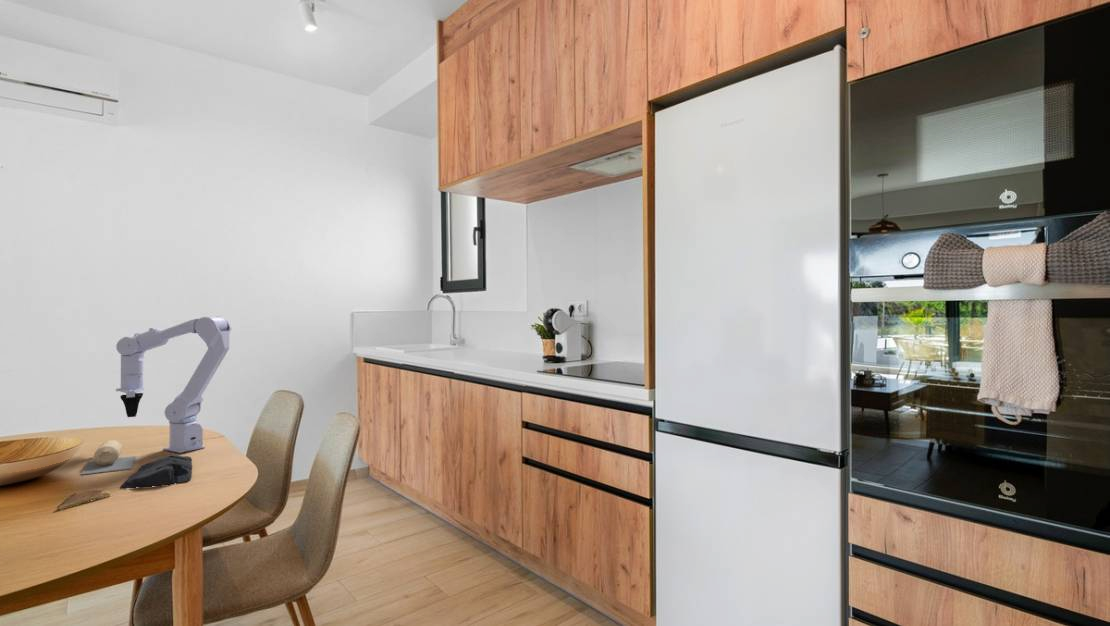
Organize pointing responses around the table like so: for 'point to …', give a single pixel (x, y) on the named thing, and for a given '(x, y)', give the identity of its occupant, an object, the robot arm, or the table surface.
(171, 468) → the dark slate chunk
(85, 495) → the shard
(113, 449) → the candle
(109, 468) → the slate mat
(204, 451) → the table surface
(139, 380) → the robot arm
